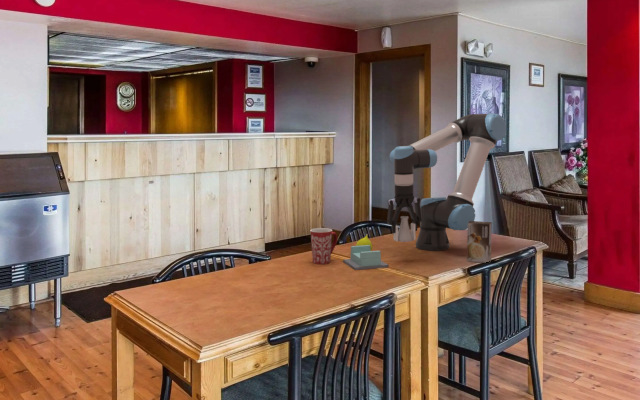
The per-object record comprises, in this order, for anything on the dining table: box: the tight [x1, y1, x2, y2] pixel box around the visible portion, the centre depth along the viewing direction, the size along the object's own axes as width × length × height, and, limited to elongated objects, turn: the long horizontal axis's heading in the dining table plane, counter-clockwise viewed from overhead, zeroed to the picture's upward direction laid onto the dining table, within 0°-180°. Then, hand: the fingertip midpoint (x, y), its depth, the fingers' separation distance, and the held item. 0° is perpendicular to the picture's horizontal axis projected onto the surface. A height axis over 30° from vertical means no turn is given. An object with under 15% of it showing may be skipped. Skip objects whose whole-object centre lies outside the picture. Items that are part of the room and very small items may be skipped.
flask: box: [397, 215, 415, 243], centre depth 230 cm, size 7×7×10 cm
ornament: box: [355, 231, 373, 251], centre depth 243 cm, size 7×7×10 cm
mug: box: [309, 227, 338, 265], centre depth 230 cm, size 13×9×14 cm
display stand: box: [342, 245, 389, 271], centre depth 225 cm, size 14×14×6 cm
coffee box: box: [466, 220, 493, 264], centre depth 230 cm, size 9×6×16 cm
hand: (404, 239), depth 231 cm, fingers closed on flask, 7 cm apart
